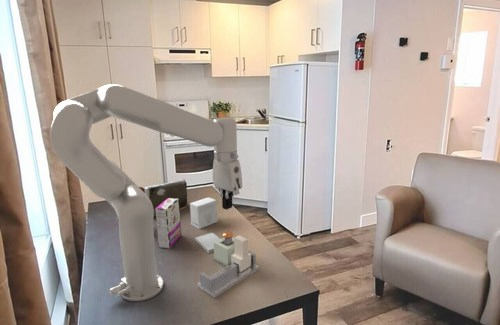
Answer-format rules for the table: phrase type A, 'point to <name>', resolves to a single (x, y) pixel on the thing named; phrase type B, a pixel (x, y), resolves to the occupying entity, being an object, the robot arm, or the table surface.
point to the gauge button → (227, 238)
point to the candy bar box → (168, 222)
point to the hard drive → (207, 241)
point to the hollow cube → (223, 252)
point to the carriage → (241, 253)
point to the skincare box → (203, 212)
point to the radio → (168, 193)
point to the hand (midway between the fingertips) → (227, 207)
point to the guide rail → (226, 277)
